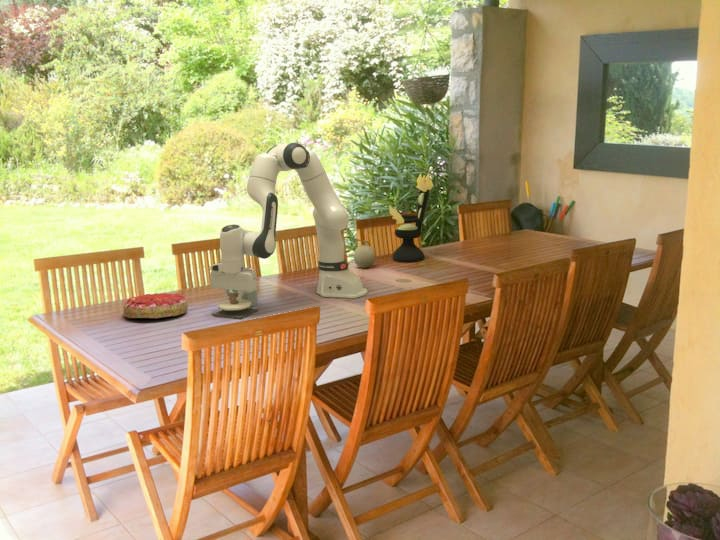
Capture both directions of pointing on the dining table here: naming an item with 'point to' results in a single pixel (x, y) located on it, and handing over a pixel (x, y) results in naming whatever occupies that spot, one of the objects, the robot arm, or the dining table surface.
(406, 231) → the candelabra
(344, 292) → the robot arm
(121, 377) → the dining table surface
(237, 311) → the mat
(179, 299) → the cake
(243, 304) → the lid
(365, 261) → the fruit
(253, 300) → the bowl
